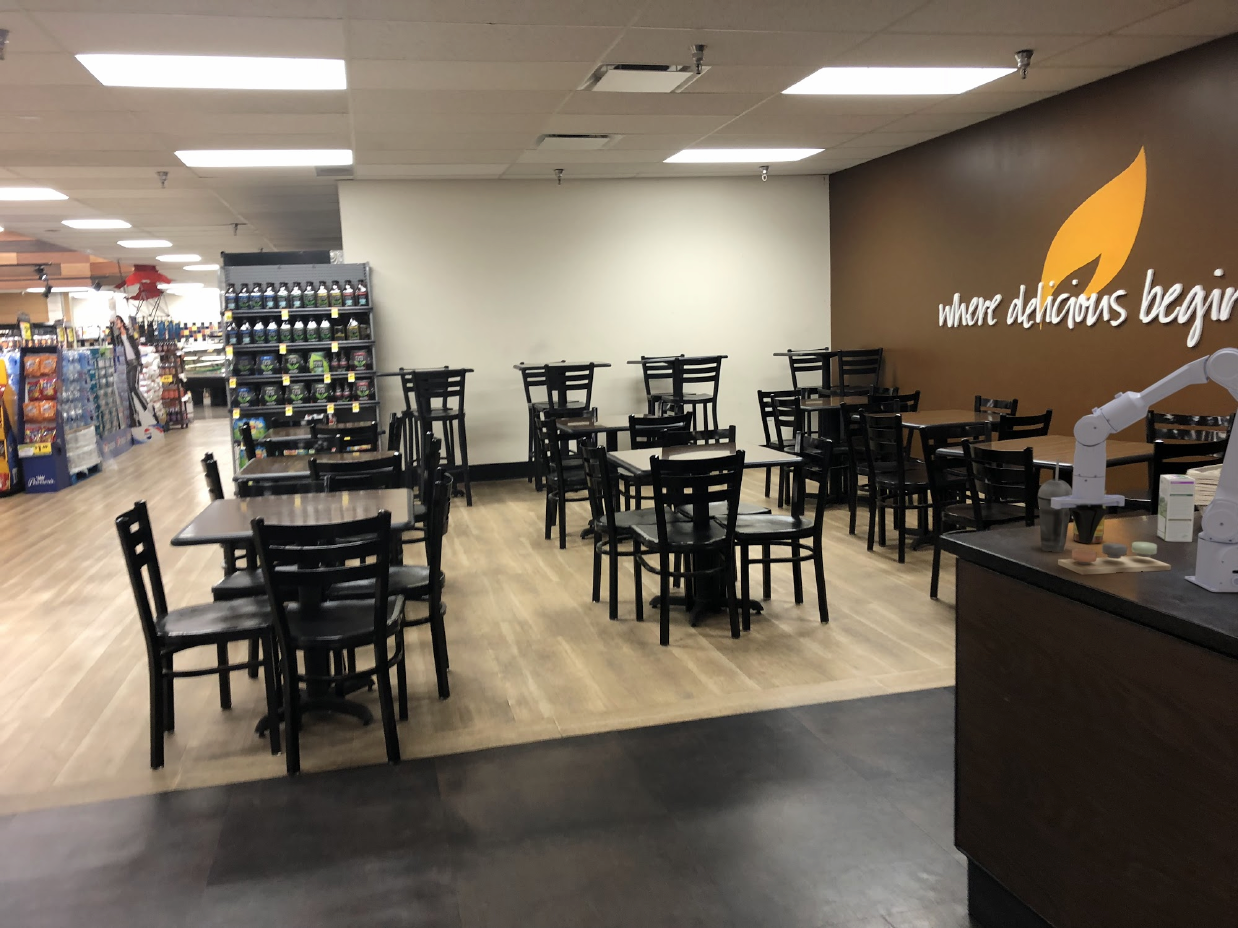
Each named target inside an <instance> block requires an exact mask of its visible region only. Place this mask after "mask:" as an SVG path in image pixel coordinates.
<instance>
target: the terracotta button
mask: <svg viewBox="0 0 1238 928" xmlns="http://www.w3.org/2000/svg"><path fill="white" fill-rule="evenodd" d="M1071 551H1072V552H1071V559H1073V560H1075V561H1077V563H1078V564H1081V565H1090V564H1091V562H1095V561H1096V558H1098V557H1097V554H1098V553H1097V551H1095V550H1091V549H1083V548H1081V549H1080V548H1078V549H1077V548H1076V549H1072V550H1071Z"/></svg>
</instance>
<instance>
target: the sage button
mask: <svg viewBox="0 0 1238 928" xmlns="http://www.w3.org/2000/svg"><path fill="white" fill-rule="evenodd" d="M1157 550H1158V545H1157V544H1156V543H1154V542H1148V541H1134V542H1131V552H1132V553H1136V556H1140V557H1149V558H1151V555H1156V554H1157V552H1158V551H1157Z"/></svg>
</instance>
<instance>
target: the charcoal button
mask: <svg viewBox="0 0 1238 928" xmlns="http://www.w3.org/2000/svg"><path fill="white" fill-rule="evenodd" d="M1101 553H1102V554H1104V555H1106V557H1109V558H1115V559H1119V558H1121V557H1125V556H1128V555H1127V554H1128V546H1127V545H1126V544H1123V543H1114V542H1104V543H1102V548H1101Z"/></svg>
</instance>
